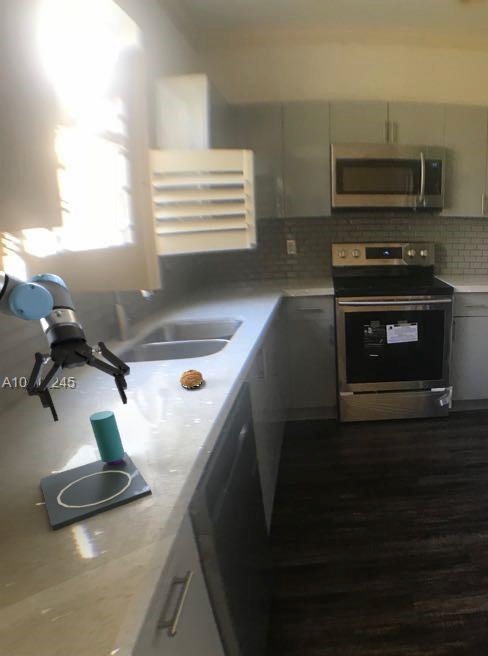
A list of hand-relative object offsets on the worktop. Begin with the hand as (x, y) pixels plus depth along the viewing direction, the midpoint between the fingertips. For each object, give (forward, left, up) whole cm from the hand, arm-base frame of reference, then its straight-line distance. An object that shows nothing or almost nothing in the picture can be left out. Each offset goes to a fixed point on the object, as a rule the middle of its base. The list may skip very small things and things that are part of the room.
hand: (91, 409), depth 103 cm
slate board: (+18, -5, -10) cm, 21 cm away
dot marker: (+11, +1, -9) cm, 14 cm away
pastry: (-28, +30, -10) cm, 43 cm away
